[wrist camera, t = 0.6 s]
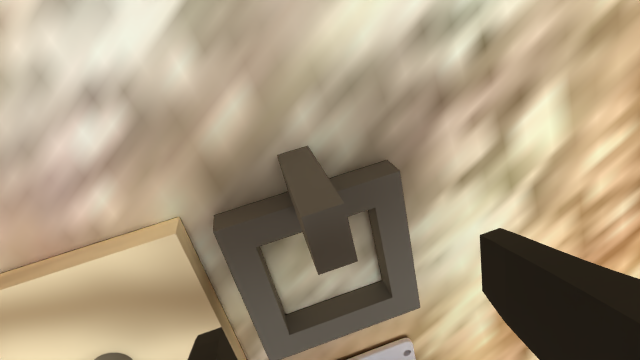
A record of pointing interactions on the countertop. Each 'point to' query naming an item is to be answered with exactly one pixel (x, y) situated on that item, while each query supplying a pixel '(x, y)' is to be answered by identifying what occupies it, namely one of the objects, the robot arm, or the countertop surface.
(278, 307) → the dark grey frame stand
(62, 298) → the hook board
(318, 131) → the countertop surface
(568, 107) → the countertop surface
